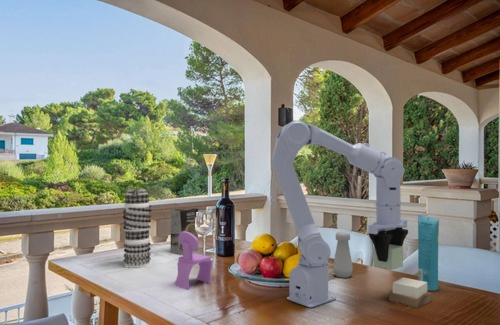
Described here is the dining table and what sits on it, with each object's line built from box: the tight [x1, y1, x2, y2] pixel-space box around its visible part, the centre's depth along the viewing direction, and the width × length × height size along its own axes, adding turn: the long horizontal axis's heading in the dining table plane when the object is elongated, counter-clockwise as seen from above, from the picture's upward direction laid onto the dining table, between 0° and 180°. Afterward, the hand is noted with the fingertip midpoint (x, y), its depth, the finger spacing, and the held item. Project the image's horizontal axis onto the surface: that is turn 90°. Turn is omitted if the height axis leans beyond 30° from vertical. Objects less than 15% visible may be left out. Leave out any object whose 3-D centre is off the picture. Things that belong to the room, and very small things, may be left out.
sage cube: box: [373, 244, 404, 271], centre depth 103 cm, size 5×5×5 cm
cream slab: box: [392, 276, 428, 298], centre depth 100 cm, size 6×6×2 cm
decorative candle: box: [122, 188, 153, 268], centre depth 135 cm, size 9×9×25 cm
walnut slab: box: [388, 290, 432, 309], centre depth 100 cm, size 7×7×2 cm
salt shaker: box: [332, 231, 354, 279], centre depth 121 cm, size 6×6×13 cm
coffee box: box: [170, 207, 199, 255], centre depth 155 cm, size 9×6×16 cm
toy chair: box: [173, 231, 213, 291], centre depth 114 cm, size 8×9×15 cm
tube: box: [417, 214, 440, 291], centre depth 109 cm, size 7×5×19 cm, turn 26°
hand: (388, 259), depth 102 cm, fingers closed on sage cube, 5 cm apart
